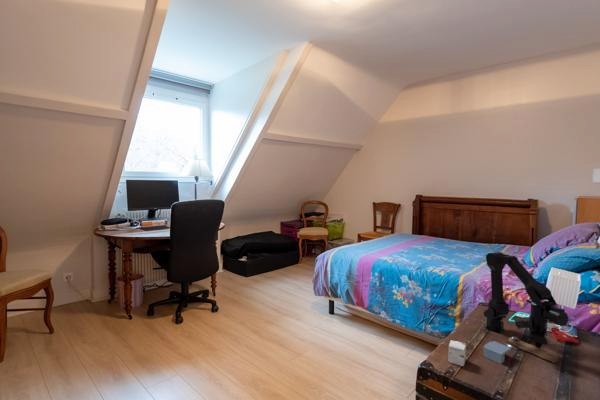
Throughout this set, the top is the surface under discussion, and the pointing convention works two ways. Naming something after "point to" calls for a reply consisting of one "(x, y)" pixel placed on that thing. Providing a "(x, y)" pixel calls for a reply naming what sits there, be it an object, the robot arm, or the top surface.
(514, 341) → the link
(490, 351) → the block
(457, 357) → the skincare box
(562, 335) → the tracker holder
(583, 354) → the top surface
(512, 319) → the handheld game console
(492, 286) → the robot arm
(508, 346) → the pintle
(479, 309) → the top surface
